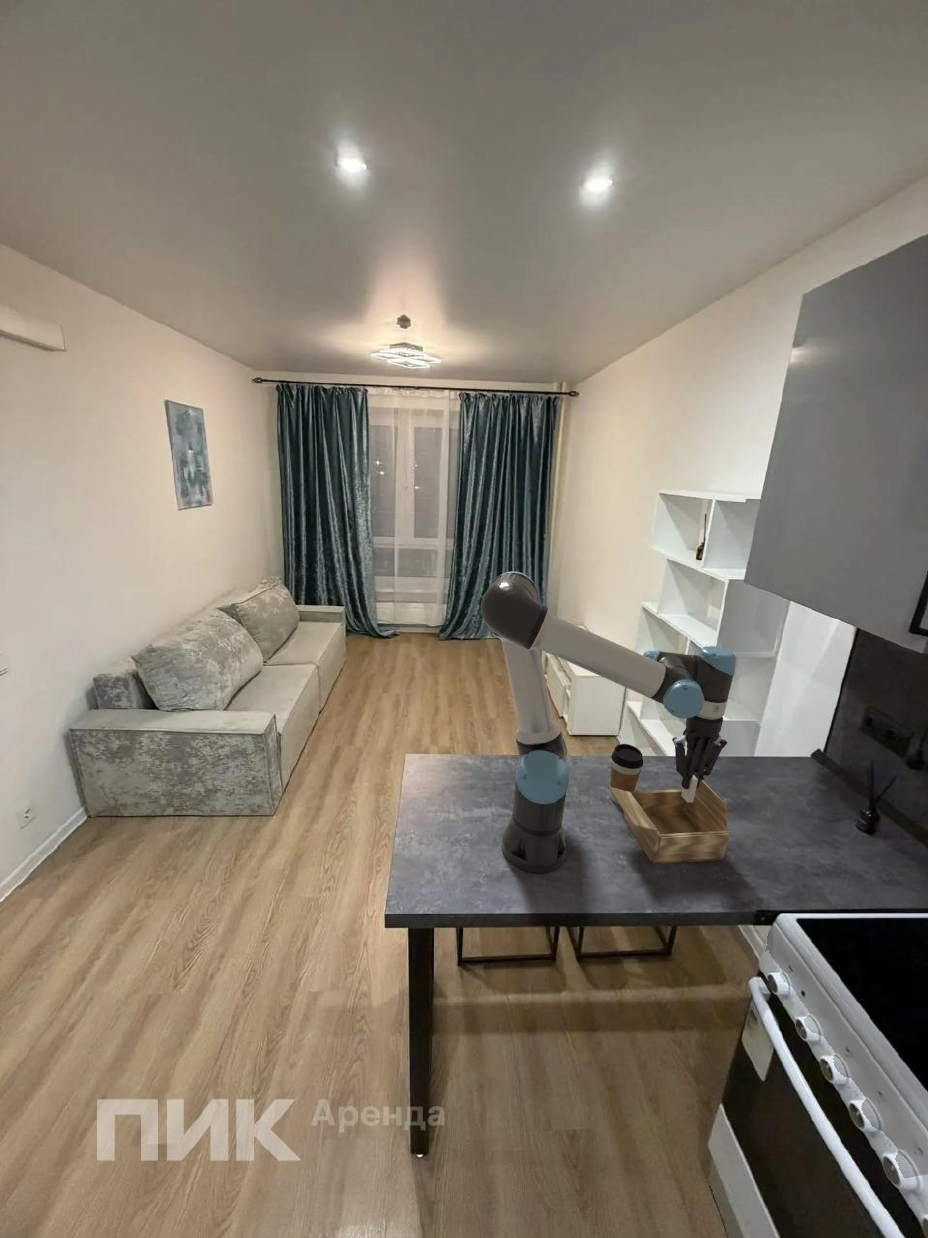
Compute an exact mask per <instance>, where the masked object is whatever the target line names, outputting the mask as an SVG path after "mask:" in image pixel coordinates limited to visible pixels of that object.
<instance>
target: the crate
mask: <svg viewBox="0 0 928 1238" xmlns="http://www.w3.org/2000/svg"><path fill="white" fill-rule="evenodd" d="M682 790H683V788H681V789H680V788H679V789H677V788H676V789H660V790H658V789H657V790H656V789H655V790H638V791H637V790H634V791H630V793H631V794H632V795H633V797H634V798H635V799H636V801H637V802H638V804H639V805H640V806H641V808H642V809H643V811H644V812H645V813H646V815H647V816H648V817H649V819H650V820H651V822H652V823H653V824H654V826H655V827H656V829H657V830H658V831H657V832H655V831H652V830H648V829H644V828H640V827H636V826H633V824H632V823H631V821H630V820H629V818H628V817H627V815H626V814H625V812H624V811H623V816H622V819H623V821H624V822H625V823H626V825H627V827H628V829H629V830H630V831H631V833H632V834H633V836H634V838H635V839H636V841H637V842H638V844H639V845H640V847H641V848H642V850H643V851H644V853H645V855H646V856H647V858H648V859H649V861H650V863H652V865H665V864H680V863H681V864H683V863H695V862H696V863H697V862H710V861H711V862H713V861H723V860H724V857H725V852H726V849H727V845H728V843H729V839H730V834H731V831H730V830H728V827H725V826H724V825H723V823H722V822H721V821H720V820H719V819H718V818H717V817H716V816H715V815H714V814H713V813H712V811H711V810H710V809H709V808H708V807H707V806H706V805H705V804H704V803H703V802H702V800H701V799H700V798H699V797H698V796H697V795H696V794H695V796H694V800H693V802H690V803H687V802H686V800H685V799H684V798H683V797H682V796H681V795H682Z"/></svg>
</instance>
